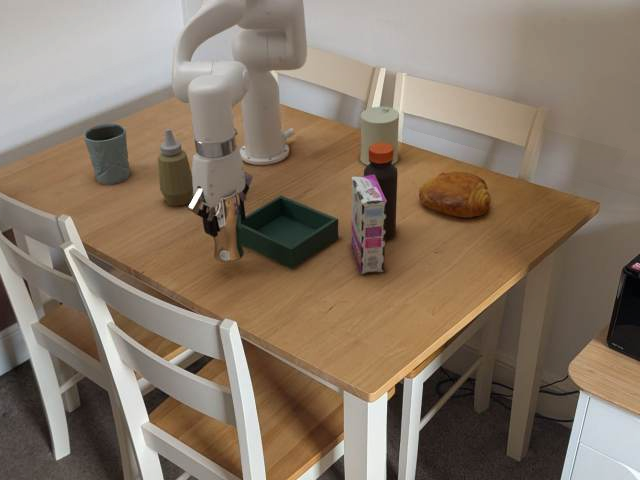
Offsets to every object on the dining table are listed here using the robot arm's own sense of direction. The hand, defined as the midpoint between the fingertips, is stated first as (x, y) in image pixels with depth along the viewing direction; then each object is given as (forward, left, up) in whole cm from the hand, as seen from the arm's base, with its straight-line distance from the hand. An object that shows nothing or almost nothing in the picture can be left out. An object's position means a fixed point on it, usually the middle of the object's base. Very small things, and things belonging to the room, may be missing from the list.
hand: (225, 225), depth 159 cm
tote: (-15, +2, -10) cm, 18 cm away
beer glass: (0, 0, -7) cm, 7 cm away
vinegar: (-29, +16, -10) cm, 35 cm away
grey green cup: (-10, -53, -10) cm, 55 cm away
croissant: (-49, +22, -10) cm, 55 cm away
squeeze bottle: (-12, -30, -10) cm, 34 cm away
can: (-56, -5, -10) cm, 57 cm away
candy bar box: (-20, +20, -10) cm, 30 cm away
